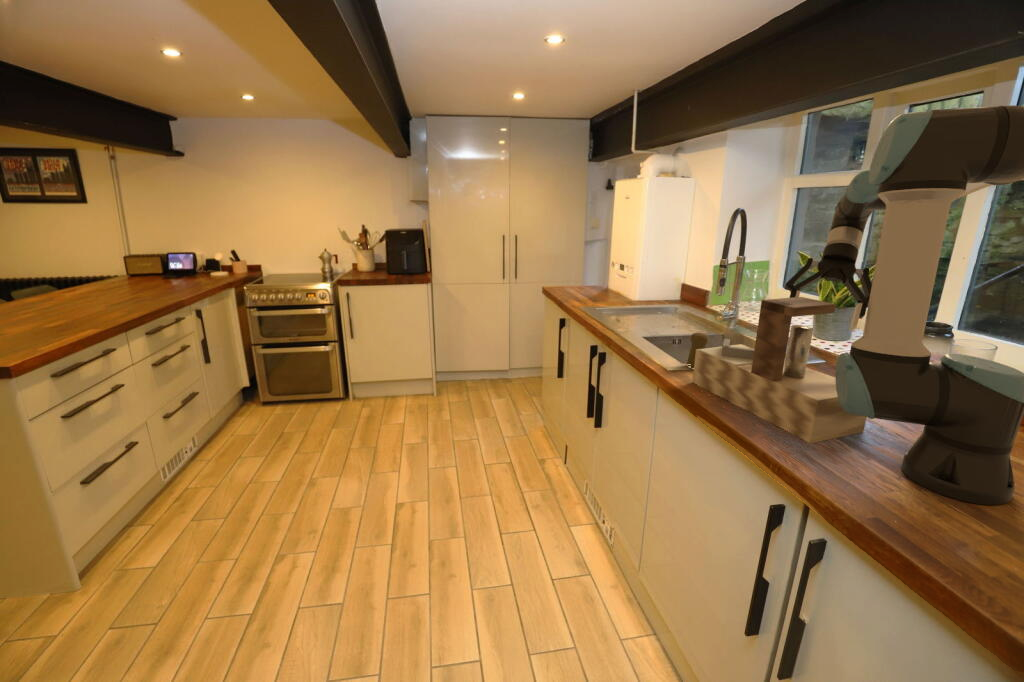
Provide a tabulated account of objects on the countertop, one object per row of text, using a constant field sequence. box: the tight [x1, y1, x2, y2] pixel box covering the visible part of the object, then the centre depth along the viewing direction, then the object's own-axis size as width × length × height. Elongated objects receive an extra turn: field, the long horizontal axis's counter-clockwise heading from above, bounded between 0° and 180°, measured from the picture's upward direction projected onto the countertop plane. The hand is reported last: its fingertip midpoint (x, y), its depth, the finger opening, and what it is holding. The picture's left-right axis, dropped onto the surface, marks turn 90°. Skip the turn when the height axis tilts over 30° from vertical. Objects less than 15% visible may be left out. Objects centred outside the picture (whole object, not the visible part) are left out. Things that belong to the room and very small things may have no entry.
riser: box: [692, 343, 868, 444], centre depth 120 cm, size 38×16×10 cm, turn 18°
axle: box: [783, 324, 814, 379], centre depth 111 cm, size 4×4×12 cm
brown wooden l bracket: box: [751, 296, 837, 382], centre depth 110 cm, size 9×12×18 cm
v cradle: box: [698, 338, 755, 366], centre depth 127 cm, size 14×14×3 cm
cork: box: [686, 332, 709, 368], centre depth 147 cm, size 6×6×11 cm
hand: (821, 321), depth 119 cm, fingers open, 13 cm apart
